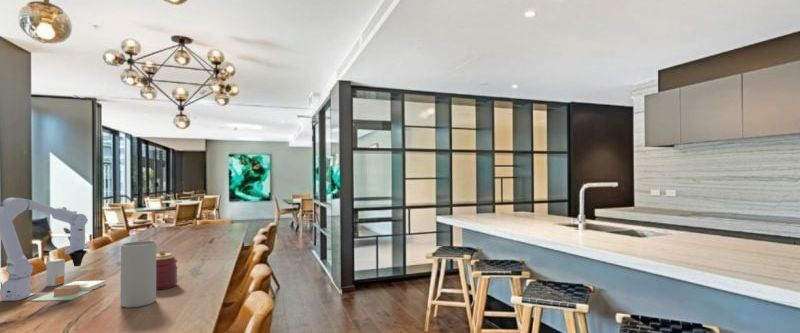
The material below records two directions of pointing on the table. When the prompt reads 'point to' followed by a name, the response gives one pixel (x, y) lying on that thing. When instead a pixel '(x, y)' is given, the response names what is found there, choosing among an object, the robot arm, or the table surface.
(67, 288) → the brick
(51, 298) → the mat
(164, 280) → the canister
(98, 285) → the board
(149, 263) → the cylinder vase
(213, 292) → the table surface
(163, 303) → the table surface
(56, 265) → the skincare box
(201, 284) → the table surface
